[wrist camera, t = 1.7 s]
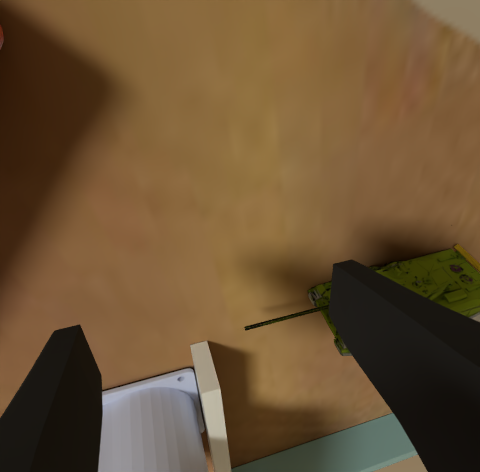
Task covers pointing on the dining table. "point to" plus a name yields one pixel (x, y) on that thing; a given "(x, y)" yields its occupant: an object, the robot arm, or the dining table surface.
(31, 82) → the dining table surface
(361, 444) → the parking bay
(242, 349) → the dining table surface
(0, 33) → the snack package
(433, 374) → the robot arm
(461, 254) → the toy tank
